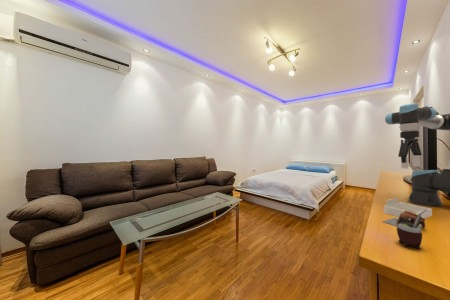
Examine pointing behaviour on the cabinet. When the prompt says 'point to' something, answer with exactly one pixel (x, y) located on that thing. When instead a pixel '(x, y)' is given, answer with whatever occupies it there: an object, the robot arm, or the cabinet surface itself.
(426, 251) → the cabinet surface
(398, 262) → the cabinet surface
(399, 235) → the mate gourd
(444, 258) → the cabinet surface
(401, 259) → the cabinet surface
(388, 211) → the carton
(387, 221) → the slate mat
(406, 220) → the pottery mug
